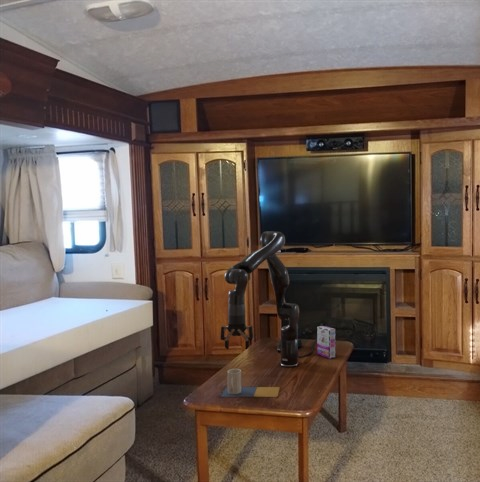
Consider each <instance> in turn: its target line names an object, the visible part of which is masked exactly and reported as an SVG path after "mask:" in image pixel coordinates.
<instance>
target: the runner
mask: <svg viewBox="0 0 480 482" xmlns="http://www.w3.org/2000/svg"><path fill="white" fill-rule="evenodd" d="M280 388H281V387H280V386H241V392H240V393H238V394H229V393H228V388H227V386H225V388H224V390H223V392H222V394H221V395H220V397H221V398H222V397H224V398H233V397H234V398H249V397H250V398H269V397H270V398H277V397H278V396H279V393H280Z"/></svg>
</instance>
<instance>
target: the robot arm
mask: <svg viewBox="0 0 480 482" xmlns="http://www.w3.org/2000/svg"><path fill="white" fill-rule="evenodd" d="M285 244H286V236H285V235H284V233H283V232H281V231H272V230H271V231H270V230H269V231H267V230H265V231H263V232H262V233H261V235H260V245H261V248H259V249H256V250H254V251H252V252H250V253H249V254H247V255H246V256H245V258H243V259H242V260H241V261H239V262H238V263H235V264H234V265H232V266H231V267H229V268H228V269H227V270H226V271H225V273H224V281H225V282H226V283H227V284H228V285H235V288H234V289H231V290H229V291H228V308H227V317H228V318H227V322H228V323H227V324H228V325H227V326H226V325H222V326H221V327H220V340H221V341H223V342H224V348H225V349H226V350H230V340H229V339H230V338H231V336H232V337H242V338H244V340H245V343H244V345H245V346H244V349H245V350H248V349H249V348H250V341H252V340H253V339H254V329H253V325H248V326H247V325H246V304H245V303H246V302H245V301H246V300H245V299H246V298H245V295H246V291H247V286H248V283H249V275H250V274H252V273H253V272H255V270H256V269H257V268H258V267H259V266H260V265H261V264H262V263H264V261H266V263H267V268H268V272H269V277H270V282H271V285H272V289H273V293H274V298H275V307H276V313H277V317H278V319H279V320H281V321H288V325H284V326H281V328H280V339H281V351H280V366H281V367H285V368H293V367H298V365H299V358H305V357H308V356H309V355H311V354H312V353H313V352H314V344H315V343H317V339H316V340H314V341H313V342H312V344H311V351H310V352H308V353H306V354H305V355H299V347H298V339H299V326H300V307H299V305H298V304H297V303H293V302H291V303H290V302H286V299H285V295H286V292H287V290H288V288H289V285H290V277H289V271H288V269H287V267H286V266H285V264H284V263H283V262H282V260H281V259H280V258H279V257H278V254H277V253H278V252H279V251H281V250H282V249H283V248H284V247H285ZM227 330H228V334H227V336H225V334H226V332H227ZM246 330H247V332H248V333H249V335H248V334H247V332H245V331H246Z"/></svg>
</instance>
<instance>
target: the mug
mask: <svg viewBox="0 0 480 482" xmlns="http://www.w3.org/2000/svg"><path fill="white" fill-rule="evenodd" d="M226 373H227V375H226V377H227V380H226V381H227V382H226V383H227V386H226V387H227V388H228V393H229V394H238V393H240V392H241V387H242V370H241V369H240V368H231V369H228V370H227V372H226Z"/></svg>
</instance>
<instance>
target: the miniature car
mask: <svg viewBox="0 0 480 482" xmlns="http://www.w3.org/2000/svg"><path fill="white" fill-rule="evenodd" d="M302 346H303V341H302V339H301V338H298V348H302ZM276 351H277V352H281V338H280V339H279V342H278V344H277V348H276Z"/></svg>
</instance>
